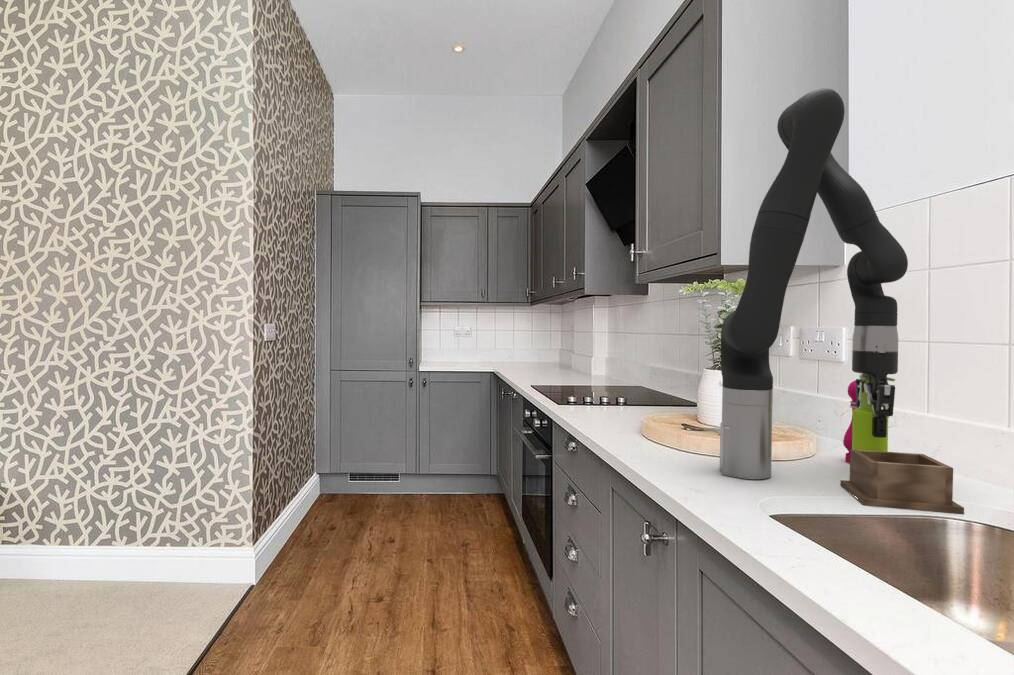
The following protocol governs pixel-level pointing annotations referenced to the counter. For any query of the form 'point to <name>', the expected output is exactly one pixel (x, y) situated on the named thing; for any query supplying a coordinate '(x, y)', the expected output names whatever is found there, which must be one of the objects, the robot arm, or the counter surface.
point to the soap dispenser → (866, 426)
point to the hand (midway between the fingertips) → (873, 433)
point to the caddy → (901, 481)
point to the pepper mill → (848, 434)
